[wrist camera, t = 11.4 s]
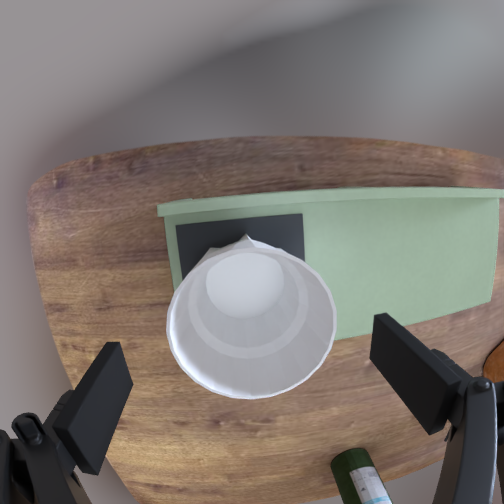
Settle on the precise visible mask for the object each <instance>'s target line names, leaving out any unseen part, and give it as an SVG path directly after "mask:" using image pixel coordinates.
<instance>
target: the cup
mask: <svg viewBox="0 0 504 504" xmlns="http://www.w3.org/2000/svg"><path fill="white" fill-rule="evenodd" d="M336 331H337V310H336V307H335V303H334V300H333V297H332V293H331V291H330V289H329V288H328V286H327V285H326V283H325V282H324V280H323V279H322V277H321V276H320V275H319V274H318V273H317V272H316V271H315V270H314V269H312V268H311V267H310V266H309V265H308V264H306V263H305V262H304V261H303V260H301V259H299V258H297V257H295V256H293V255H290V254H288V253H287V252H285V251H284V250H282V249H281V248H274V247H272V246H270V245H267V244H265V243H262V242H258V241H255V240H251V239H250V237H249V236H248V235H247V234H245V235H244V236H243V237H242V238H241V239H240V240H239V241H237V242H235V243H232V244H230V245H227V246H225V247H222V248H210V249H209V250H208V251H207V252H206V254H205V255H204V256H203V258H202V259H201V260H200V261H199V262H198V263H197V265H196V266H195V267H194V268H193V269H192V270H191V271H190V272H189V274H188V275H187V276H186V277H185V279H184V280H183V281H182V283H181V284H180V285H179V287H178V288H177V289H176V291H175V292H174V295H173V298H172V300H171V303H170V306H169V309H168V311H167V327H166V333H167V337H168V341H169V345H170V349H171V352H172V354H173V355H174V357H175V359H176V361H177V362H178V364H179V366H180V367H181V369H182V370H183V371H184V372H185V373H186V374H187V375H188V376H190V377H191V378H192V379H193V380H194V381H195V382H196V383H198V384H200V385H201V386H203V387H205V388H206V389H208V390H210V391H212V392H214V393H218V394H221V395H224V396H227V397H231V398H241V399H258V398H265V397H272V396H275V395H278V394H280V393H283V392H286V391H289V390H291V389H293V388H294V387H296V386H297V385H299V384H301V383H302V382H304V381H305V380H307V379H308V378H309V377H310V376H311V375H312V374H313V373H314V372H315V371H316V370H317V369H318V368H319V367H320V366H321V365H322V363H323V362H324V360H325V358H326V357H327V355H328V353H329V352H330V350H331V348H332V344H333V341H334V338H335V334H336Z"/></svg>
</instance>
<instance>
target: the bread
mask: <svg viewBox="0 0 504 504" xmlns="http://www.w3.org/2000/svg"><path fill="white" fill-rule="evenodd" d="M483 377H485V378H487V379H489V380H491V381H492V382H493V383H496V382H500V381H504V341H503V342H502V343H501V344H500V345H499V346H498V347H497V348H496V349H495V350H494V351H493V352H492V353H491V355H490V356H489V357H488V358H487V360H486V363H485V365H484V368H483Z"/></svg>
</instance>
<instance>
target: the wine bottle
mask: <svg viewBox="0 0 504 504" xmlns="http://www.w3.org/2000/svg"><path fill="white" fill-rule="evenodd" d="M331 469H332V472H333V475H334V478H335V481H336V483H337V486H338V489H339V492H340V495H341V497H342V500H343V503H344V504H393V503H392V500H391V498H390V496H389V495H388V492H387V490H386V488H385V486H384V484H383V482H382V480H381V478H380V476H379V474H378V472H377V470H376V468H375V466H374V464H373V462H372V460H371V458H370V456H369V454H368V452H367V451H366V450H365V449H361V448H359V449H351V450H348V451H346V452H343V453H342V454H340V455H338V456H337V457H336V458H335V459H334V460H333V462H332V464H331Z"/></svg>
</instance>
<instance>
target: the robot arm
mask: <svg viewBox="0 0 504 504" xmlns="http://www.w3.org/2000/svg"><path fill="white" fill-rule="evenodd" d="M370 360H371V361H372V362H373V364H374V365H375V366H376V367H377V369H378V370H379V371H380V372H381V374H382V375H383V376H384V378H385V379H386V380H387V381H388V383H389V384H390V385H391V386H392V388H393V389H394V390H395V392H396V393H397V394H398V395H399V397H400V398H401V399H402V401H403V402H404V403H405V405H406V406H407V407H408V408H409V410H410V411H411V412H412V414H413V415H414V416H415V418H416V419H417V420H418V421H419V423H420V424H421V425H422V427H423V428H424V429H425V431H426V432H427V433H428V435H432V434H434V433H436V432H438V431H440V430H442V429H443V428H444V426H445V424H446V421H447V419H448V420H449V421H450V422H451V424H452V425H451V427H450V429H449V432H448V434H447V436H446V438H445V440H444V441H445V442H446V441H447V439H448V441H447V447H446V452H445V457H444V461H443V466H442V470H441V474H440V478H439V482H438V486H437V489H436V493H435V497H434V500H433V503H432V504H492V498H493V491H494V483H495V472H496V464H497V469H498V475H499V481H500V487H501V494H502V502H503V504H504V381H500V382H496V383H493V382H492V381H491V380H489V379H487V378H485V377H475V378H472V377H471V376H470V375H469V374H468V373H467V372H466V371H464V370H463V369H462V368H461V367H460V366H459V365H457V364H455V362H454V361H453V360H452V359H450V358H449V357H448V356H447V355H446V354H445V353H443V352H441V351H439V350H436V349H432V350H430V349H428V348H427V347H426V346H425V345H424V344H423V343H422V342H420V341H419V340H418V339H417V338H416V337H415V336H413V335H412V334H411V333H410V332H409V331H408V330H406V329H405V328H404V327H403V326H402V325H401V324H399V323H398V322H397V321H396V320H395V319H394V318H392V317H391V316H390V315H389V314H388V313H381V314H376V315H374V320H373V331H372V341H371V350H370ZM132 386H133V382H132V379H131V376H130V373H129V370H128V367H127V364H126V361H125V358H124V354H123V351H122V348H121V344H120V342H106V344H105V345H104V347H103V348H102V350H101V351H100V352H99V354H98V355H97V357H96V358H95V360H94V361H93V363H92V364H91V366H90V367H89V369H88V370H87V372H86V373H85V375H84V376H83V378H82V379H81V381H80V382H79V384H78V385H77V387H76V388H75V390H69V391H67V392H66V393H65V394H63V395H62V396H61V398H60V399H59V401H58V402H57V404H56V405H55V407H54V408H53V410H52V411H51V413H50V414H49V416H48V417H47V419H46V420H45V422H44V424H43V425H42V423H41V421H40V420H39V418H38V416H37V415H36V414H34V413H23V414H21V415H19V416H17V417H16V418H15V419H14V420H13V422H12V429H13V431H14V432H15V433H16V435H17V437H18V438H19V439H10V437H9V436H8V434H7V433H6V432H5V431H4V430H0V504H92V503H91V502H90V500H89V498H88V496H87V494H86V492H85V490H84V489H83V487H82V485H81V483H80V481H79V478H78V476H77V475H76V473H75V472H74V471H73V470H74V468H75V466H76V465H77V466H78V467H79V469H80V470H81V471H82V472H83V473H88V474H92V475H98V474H99V472H100V469H101V466H102V463H103V461H104V458H105V455H106V452H107V450H108V447H109V444H110V442H111V439H112V436H113V434H114V431H115V429H116V426H117V424H118V421H119V418H120V416H121V413H122V411H123V408H124V406H125V403H126V401H127V399H128V396H129V394H130V391H131V389H132Z"/></svg>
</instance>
